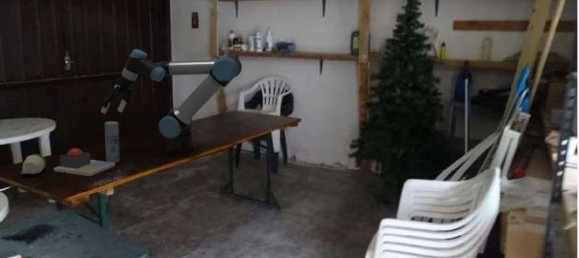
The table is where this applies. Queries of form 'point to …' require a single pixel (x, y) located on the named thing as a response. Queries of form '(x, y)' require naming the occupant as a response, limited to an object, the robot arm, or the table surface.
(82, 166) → the tray with gray block
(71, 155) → the red dome
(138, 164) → the table surface
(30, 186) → the table surface
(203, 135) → the table surface
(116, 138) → the spray paint can
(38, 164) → the cartoon head
